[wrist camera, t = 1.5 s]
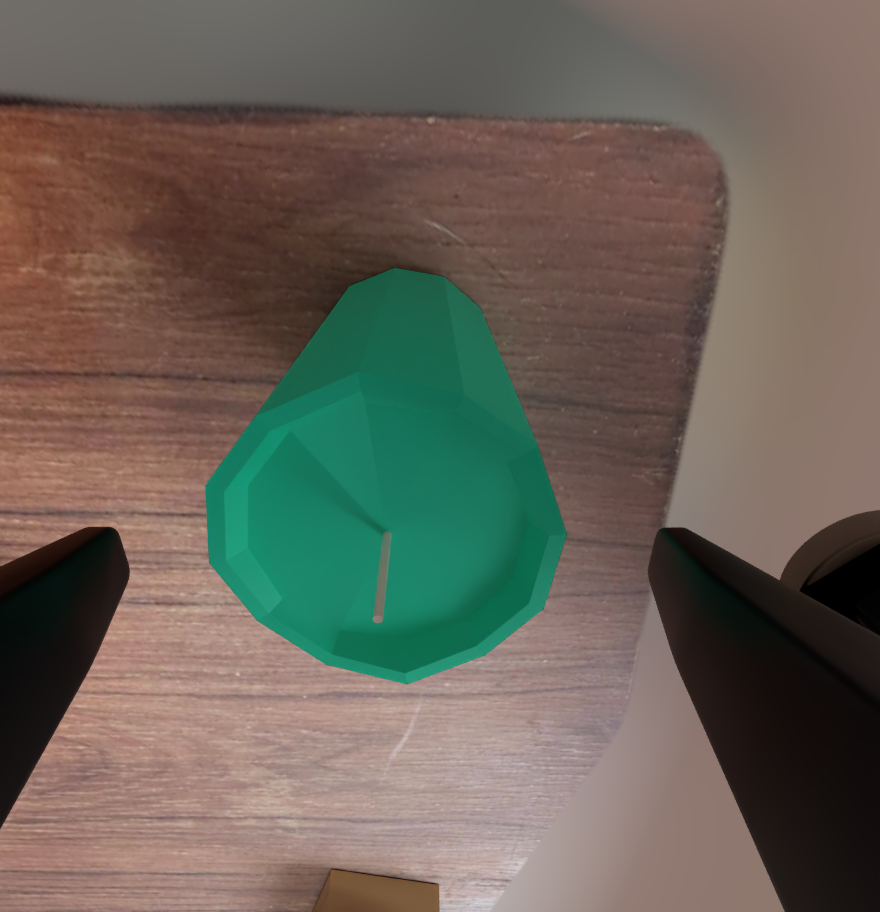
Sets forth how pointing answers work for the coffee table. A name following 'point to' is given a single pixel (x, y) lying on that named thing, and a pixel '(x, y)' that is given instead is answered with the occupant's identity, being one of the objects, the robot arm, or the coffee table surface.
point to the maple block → (375, 894)
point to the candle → (390, 490)
